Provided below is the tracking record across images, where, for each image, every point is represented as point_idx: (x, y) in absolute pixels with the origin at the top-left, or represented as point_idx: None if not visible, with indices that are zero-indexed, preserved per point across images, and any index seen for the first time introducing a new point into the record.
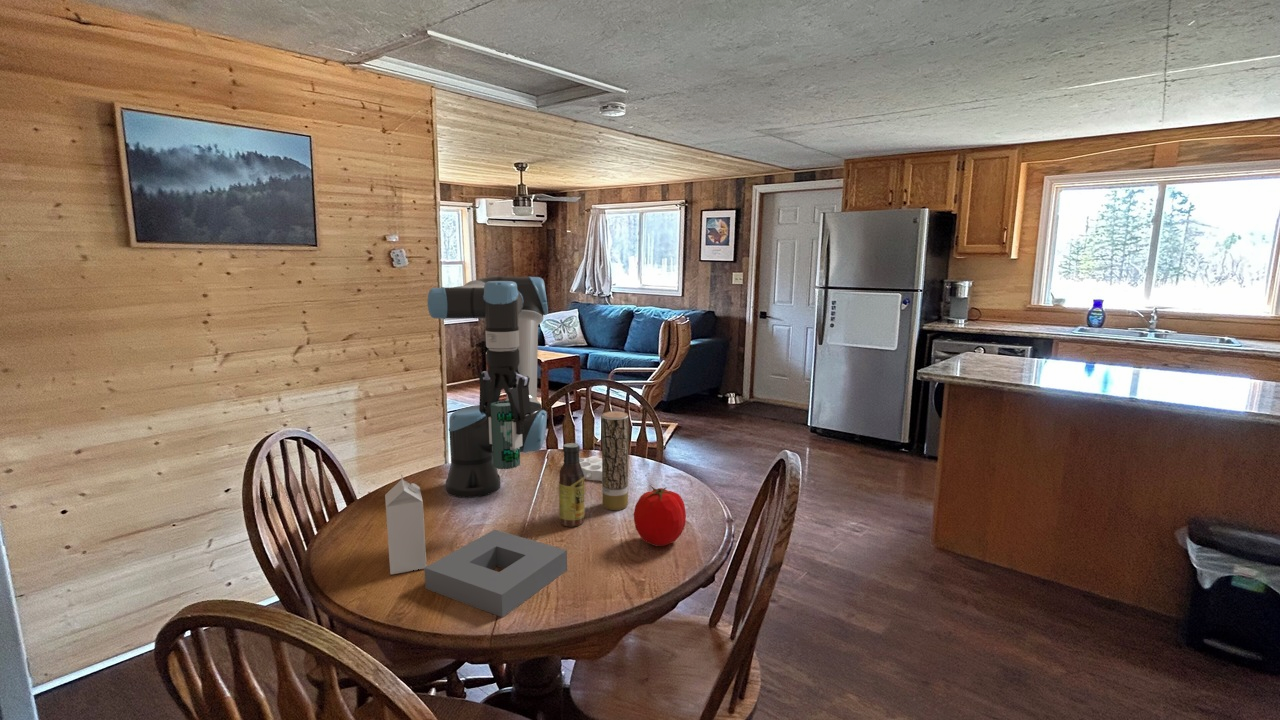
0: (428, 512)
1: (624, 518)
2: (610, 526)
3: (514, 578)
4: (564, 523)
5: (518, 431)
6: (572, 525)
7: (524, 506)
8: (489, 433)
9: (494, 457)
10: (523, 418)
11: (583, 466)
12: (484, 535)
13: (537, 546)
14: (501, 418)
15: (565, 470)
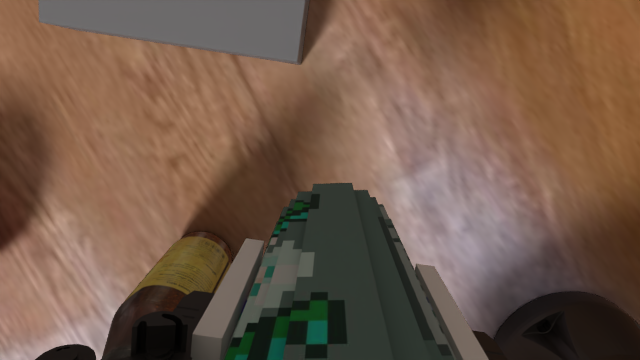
0: (594, 183)
1: (103, 319)
2: (109, 270)
3: None
4: (204, 233)
5: (195, 302)
6: (185, 235)
7: None
8: (448, 296)
9: (367, 204)
10: (51, 350)
11: None
12: (300, 15)
13: (122, 9)
14: (293, 313)
15: None
